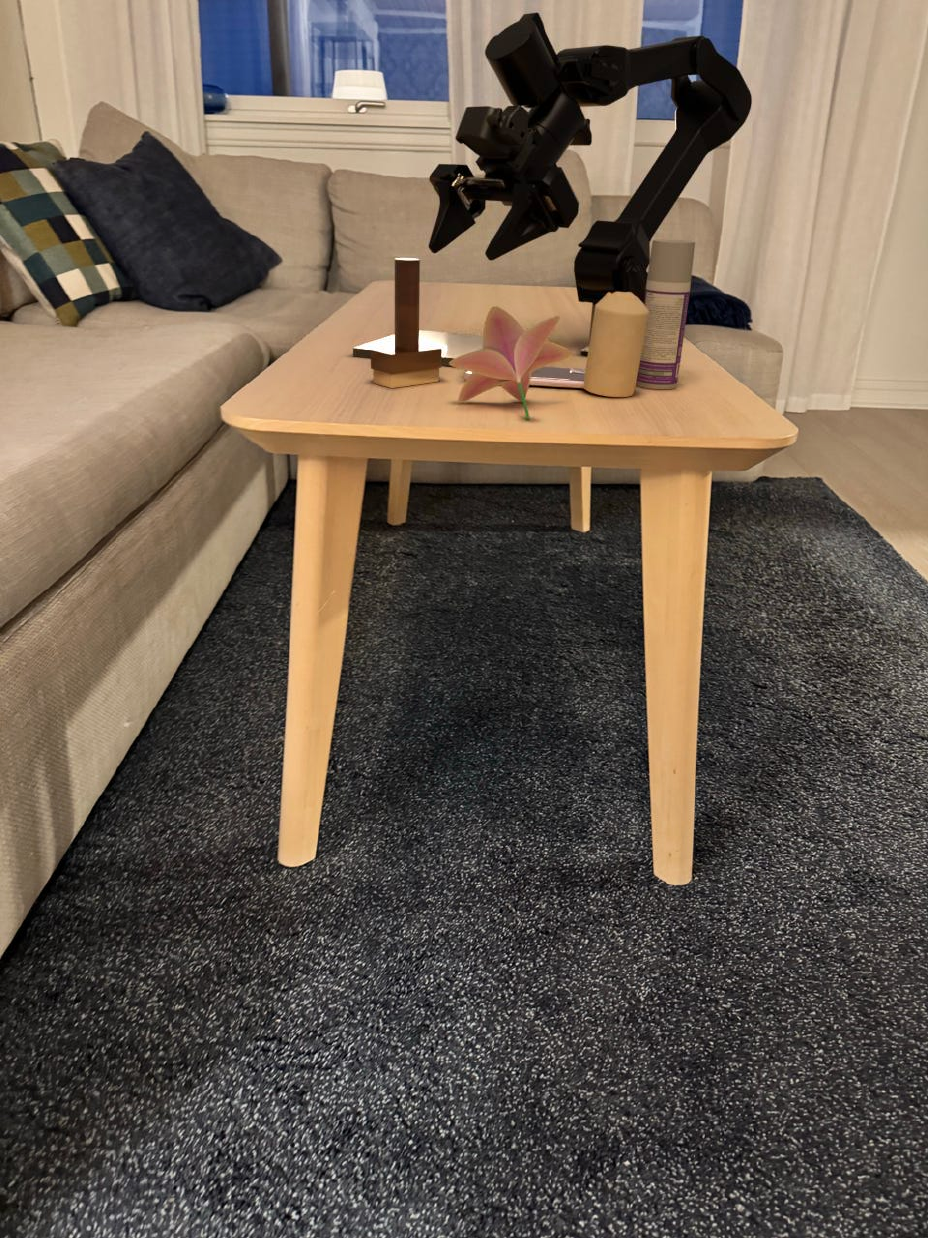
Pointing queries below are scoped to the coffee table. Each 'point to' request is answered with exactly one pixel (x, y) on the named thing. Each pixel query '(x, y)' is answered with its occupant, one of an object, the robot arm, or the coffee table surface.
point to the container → (665, 312)
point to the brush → (406, 336)
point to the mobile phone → (555, 377)
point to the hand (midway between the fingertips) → (458, 253)
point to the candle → (615, 345)
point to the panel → (430, 344)
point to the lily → (508, 356)
